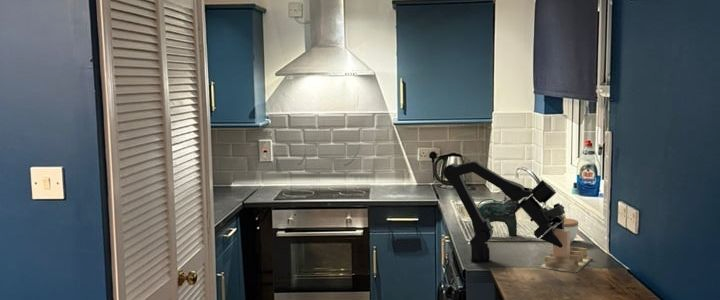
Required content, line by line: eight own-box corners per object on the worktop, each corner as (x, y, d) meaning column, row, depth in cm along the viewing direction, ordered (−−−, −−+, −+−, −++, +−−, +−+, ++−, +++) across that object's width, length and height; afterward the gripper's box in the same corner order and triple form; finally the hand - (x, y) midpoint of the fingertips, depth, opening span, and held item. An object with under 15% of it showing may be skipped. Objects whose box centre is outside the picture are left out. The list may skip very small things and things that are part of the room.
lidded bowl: (581, 240, 270) (581, 215, 269) (573, 247, 259) (573, 220, 258) (552, 237, 277) (551, 212, 276) (543, 243, 266) (543, 217, 265)
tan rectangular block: (567, 267, 228) (567, 231, 227) (553, 265, 230) (553, 230, 229) (569, 265, 231) (569, 230, 229) (556, 263, 233) (555, 228, 232)
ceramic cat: (518, 234, 286) (518, 190, 284) (521, 237, 280) (521, 192, 278) (474, 234, 288) (473, 190, 286) (475, 237, 281) (475, 193, 280)
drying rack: (540, 267, 231) (540, 256, 230) (557, 254, 248) (557, 244, 248) (576, 272, 223) (576, 261, 223) (591, 258, 241) (591, 248, 240)
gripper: (542, 201, 223) (574, 235, 218) (558, 193, 238) (588, 225, 233) (521, 221, 228) (551, 255, 223) (537, 212, 243) (566, 244, 238)
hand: (565, 244), depth 229 cm, fingers open, 9 cm apart
